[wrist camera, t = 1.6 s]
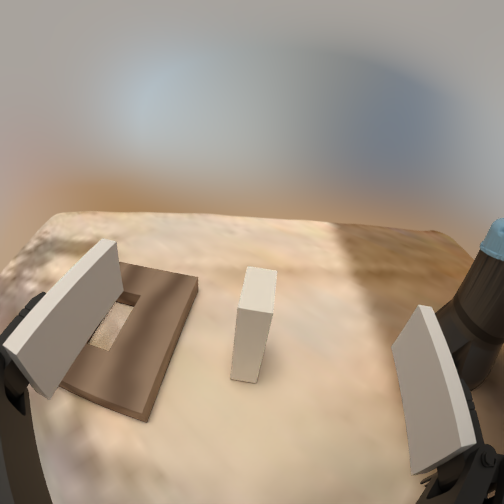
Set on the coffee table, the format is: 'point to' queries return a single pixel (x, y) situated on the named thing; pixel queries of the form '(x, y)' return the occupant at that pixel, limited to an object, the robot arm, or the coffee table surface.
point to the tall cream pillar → (253, 323)
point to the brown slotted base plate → (136, 343)
